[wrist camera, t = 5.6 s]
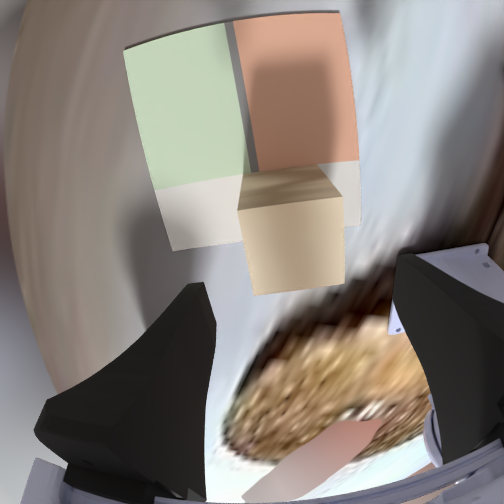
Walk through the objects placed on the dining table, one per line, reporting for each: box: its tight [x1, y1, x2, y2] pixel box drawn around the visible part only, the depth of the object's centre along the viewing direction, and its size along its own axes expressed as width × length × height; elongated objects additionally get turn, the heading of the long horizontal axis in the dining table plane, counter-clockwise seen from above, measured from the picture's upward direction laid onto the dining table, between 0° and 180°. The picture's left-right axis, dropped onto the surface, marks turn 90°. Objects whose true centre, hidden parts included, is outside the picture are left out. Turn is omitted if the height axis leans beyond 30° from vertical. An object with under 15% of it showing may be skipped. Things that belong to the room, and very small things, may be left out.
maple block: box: [237, 164, 345, 296], centre depth 16 cm, size 4×4×6 cm
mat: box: [123, 13, 361, 251], centre depth 17 cm, size 13×14×1 cm
